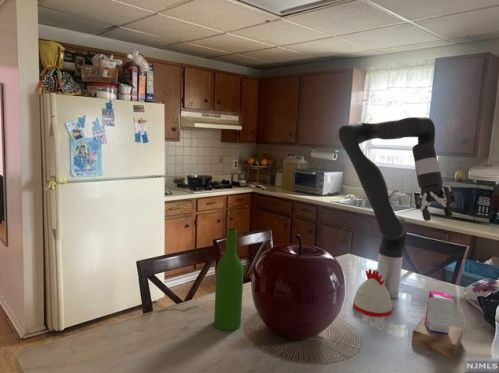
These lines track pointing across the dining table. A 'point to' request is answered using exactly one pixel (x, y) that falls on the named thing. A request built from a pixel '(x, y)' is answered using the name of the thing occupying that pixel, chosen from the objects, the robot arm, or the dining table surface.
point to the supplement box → (439, 312)
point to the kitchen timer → (373, 297)
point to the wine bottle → (229, 287)
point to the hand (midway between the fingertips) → (438, 219)
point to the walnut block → (437, 339)
